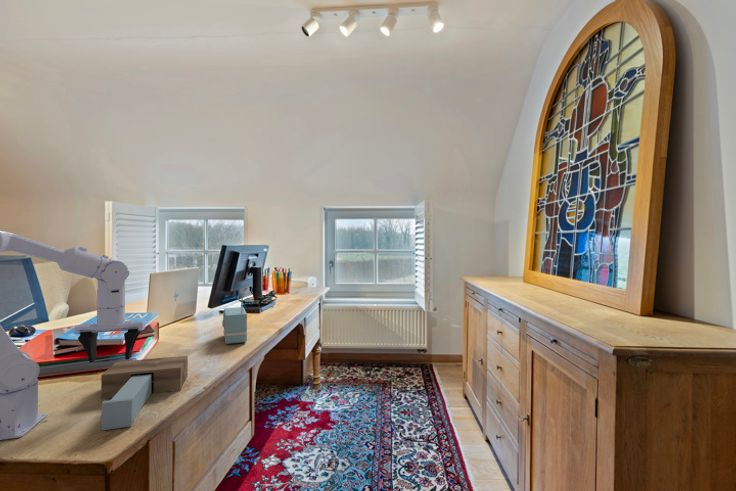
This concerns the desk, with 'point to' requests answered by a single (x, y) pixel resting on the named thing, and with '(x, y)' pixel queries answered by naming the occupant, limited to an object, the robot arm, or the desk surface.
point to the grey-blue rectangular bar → (126, 403)
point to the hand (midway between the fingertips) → (110, 359)
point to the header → (164, 374)
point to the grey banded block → (235, 324)
